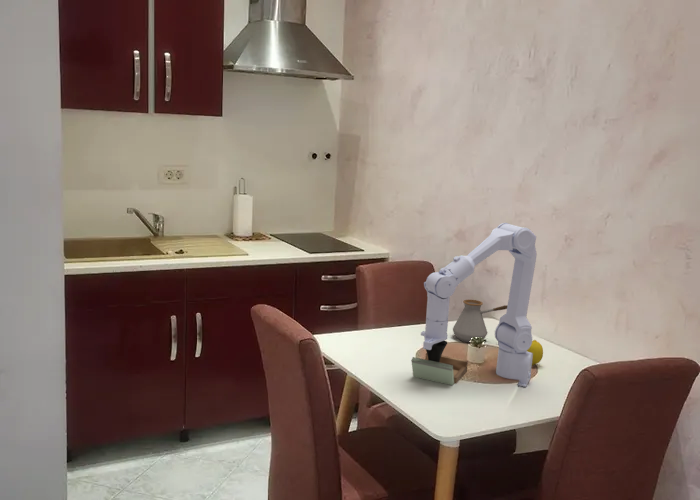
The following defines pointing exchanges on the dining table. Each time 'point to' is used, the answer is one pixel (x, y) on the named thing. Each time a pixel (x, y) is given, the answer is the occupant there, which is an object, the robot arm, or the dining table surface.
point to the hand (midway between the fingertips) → (433, 367)
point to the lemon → (536, 352)
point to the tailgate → (433, 371)
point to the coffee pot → (472, 321)
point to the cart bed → (454, 366)
